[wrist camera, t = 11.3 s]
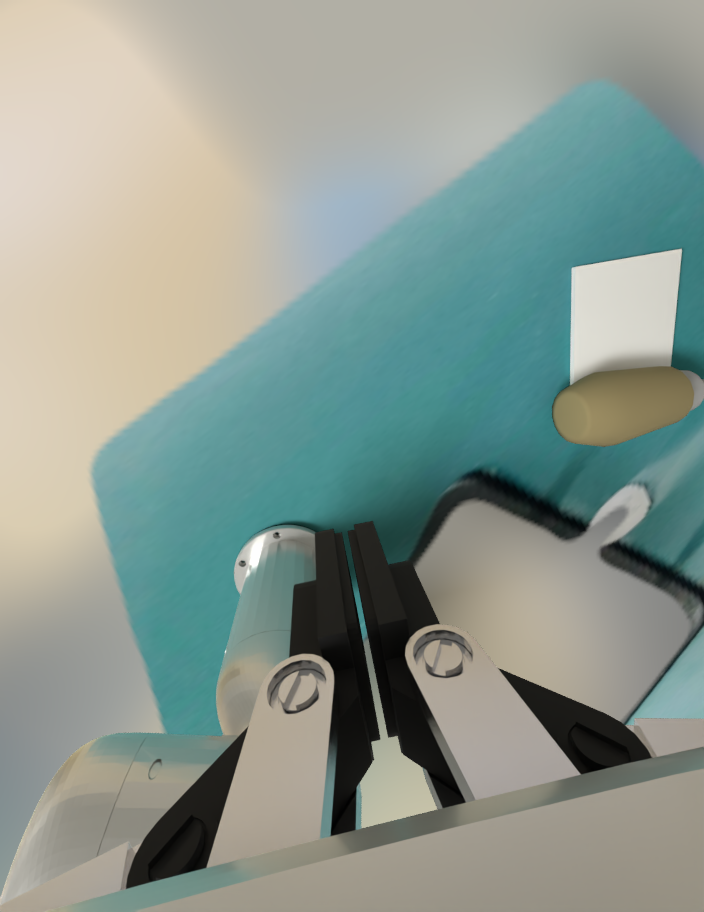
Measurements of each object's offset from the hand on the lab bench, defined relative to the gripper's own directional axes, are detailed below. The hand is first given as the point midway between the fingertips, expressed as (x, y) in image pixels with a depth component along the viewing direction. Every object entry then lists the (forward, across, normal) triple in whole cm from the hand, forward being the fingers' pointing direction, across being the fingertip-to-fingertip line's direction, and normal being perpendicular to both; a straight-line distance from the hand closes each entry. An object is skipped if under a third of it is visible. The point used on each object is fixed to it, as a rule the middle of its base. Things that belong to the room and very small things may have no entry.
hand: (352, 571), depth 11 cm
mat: (+32, -35, 0) cm, 47 cm away
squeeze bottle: (+27, -25, +6) cm, 38 cm away
